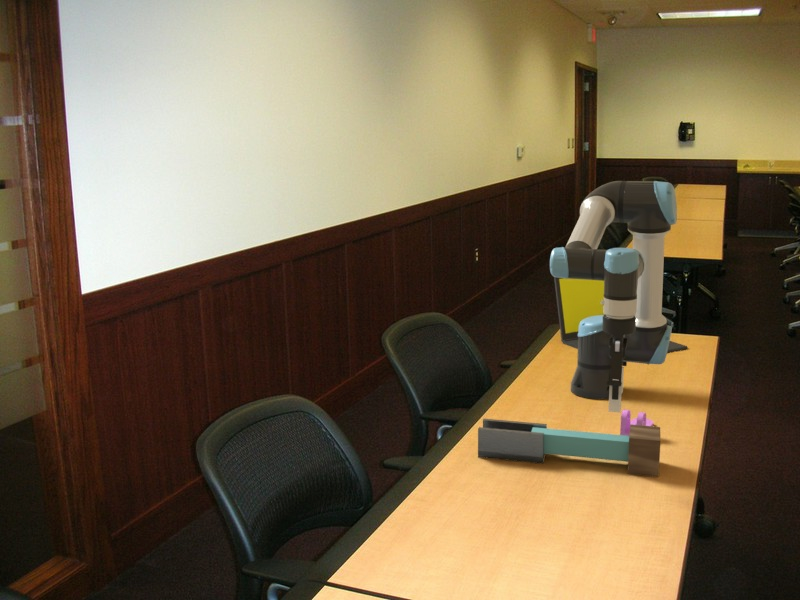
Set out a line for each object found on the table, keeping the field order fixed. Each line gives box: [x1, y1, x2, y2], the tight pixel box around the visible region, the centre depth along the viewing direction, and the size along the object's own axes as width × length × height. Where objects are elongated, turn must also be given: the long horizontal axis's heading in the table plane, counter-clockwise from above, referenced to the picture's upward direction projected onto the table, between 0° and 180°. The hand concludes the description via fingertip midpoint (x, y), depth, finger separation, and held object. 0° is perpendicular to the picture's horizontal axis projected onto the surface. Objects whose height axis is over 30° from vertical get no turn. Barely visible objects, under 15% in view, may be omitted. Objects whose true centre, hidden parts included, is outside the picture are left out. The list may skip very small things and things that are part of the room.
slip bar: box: [531, 427, 629, 463], centre depth 202 cm, size 4×26×5 cm, turn 73°
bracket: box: [619, 408, 654, 436], centre depth 222 cm, size 13×6×7 cm, turn 147°
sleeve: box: [477, 418, 548, 465], centre depth 207 cm, size 7×16×8 cm, turn 73°
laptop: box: [553, 276, 689, 354], centre depth 302 cm, size 33×35×26 cm
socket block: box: [627, 424, 661, 478], centre depth 198 cm, size 9×7×9 cm
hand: (615, 401), depth 198 cm, fingers open, 13 cm apart
